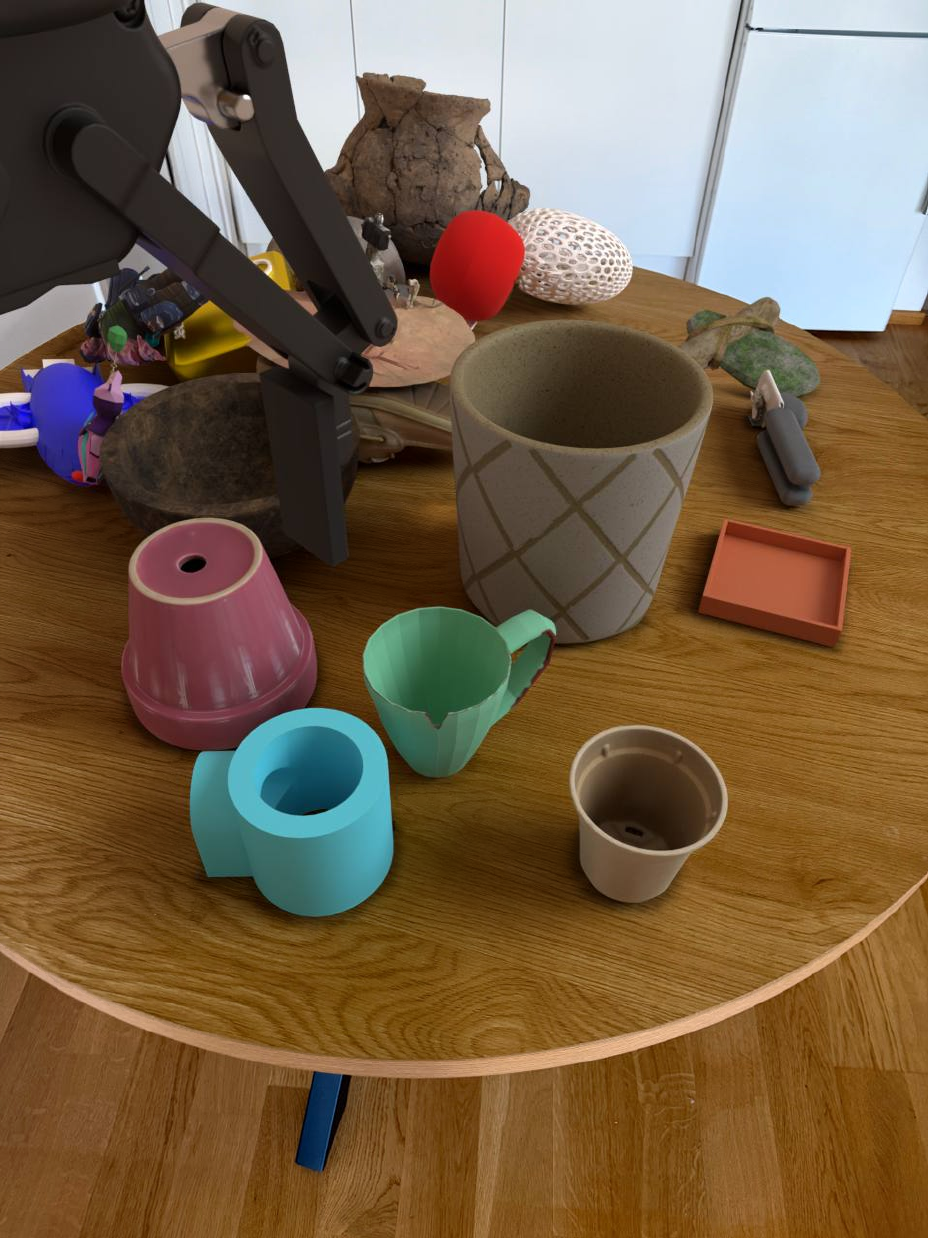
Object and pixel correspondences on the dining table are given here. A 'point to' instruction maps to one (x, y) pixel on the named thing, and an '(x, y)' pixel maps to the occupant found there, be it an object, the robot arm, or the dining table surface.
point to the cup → (298, 811)
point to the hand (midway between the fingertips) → (153, 643)
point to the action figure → (138, 315)
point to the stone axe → (750, 348)
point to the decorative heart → (570, 258)
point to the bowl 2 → (387, 256)
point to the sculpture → (398, 327)
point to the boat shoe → (397, 417)
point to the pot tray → (778, 582)
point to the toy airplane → (58, 412)
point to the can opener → (784, 441)
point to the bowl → (203, 459)
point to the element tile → (219, 334)
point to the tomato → (476, 264)
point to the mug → (450, 680)
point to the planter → (572, 469)
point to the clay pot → (420, 164)
